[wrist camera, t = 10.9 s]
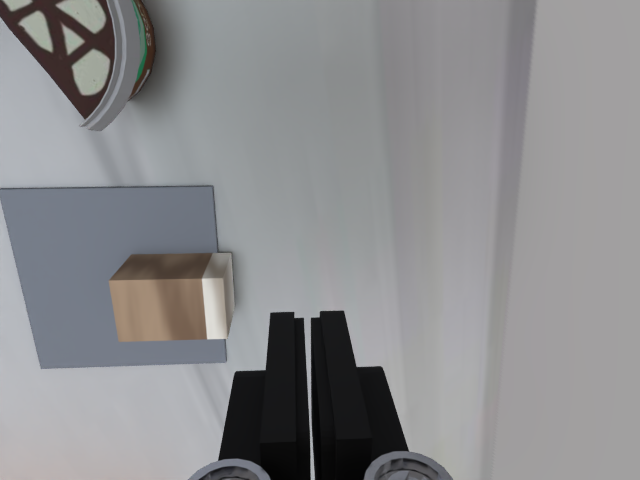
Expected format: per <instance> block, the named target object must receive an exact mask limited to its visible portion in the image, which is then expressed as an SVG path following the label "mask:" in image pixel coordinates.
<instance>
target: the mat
mask: <svg viewBox="0 0 640 480" xmlns="http://www.w3.org/2000/svg"><path fill="white" fill-rule="evenodd" d="M0 200H1V204H2V208H3V212H4V216H5V221H6V225H7V229H8V233H9V237H10V242H11V246H12V250H13V254H14V258H15V262H16V267H17V271H18V275H19V279H20V283H21V287H22V292H23V296H24V300H25V304H26V308H27V312H28V317H29V321H30V325H31V329H32V333H33V338H34V342H35V346H36V350H37V354H38V358H39V363H40V367H41V369H51V368H80V367H110V366H139V365H169V364H199V363H226V361H227V358H226V345H225V339H203V340H168V341H132V342H119V341H118V335H117V329H116V323H115V316H114V310H113V304H112V298H111V292H110V286H109V279H110V278H111V277H112V276H113V275H114V274H115V273H116V271H117V270H118V269H119V268H120V267H121V266H122V265H123V263H124V262H125V261H126V260H127V259H128V258H129V257H130V255H131V254H185V253H218V244H217V231H216V218H215V206H214V193H213V186H154V187H75V188H1V189H0Z"/></svg>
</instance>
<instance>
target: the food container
mask: <svg viewBox="0 0 640 480" xmlns="http://www.w3.org/2000/svg"><path fill="white" fill-rule="evenodd" d="M0 17H1V18H2V20H3V21H4V22H5V24H6V25H7V26H8V28H9V29H10V30H11V31H12V32H13V34H14V35H15V36H16V37H17V38H18V39H19V41H20V42H21V43H22V44H23V45H24V46H25V47H26V48H27V50H28V51H29V52H30V53H31V54H32V55H33V56H34V58H35V59H36V60H37V61H38V62H39V63H40V65H41V66H42V67H43V68H44V69H45V71H46V72H47V73H48V74H49V75H50V76H51V78H52V79H53V80H54V81H55V83H56V84H57V85H58V86H59V88H60V89H61V90H62V91H63V93H64V94H65V95H66V96H67V98H68V99H69V100H70V101H71V103H72V104H73V105H74V106H75V108H76V109H77V110H78V111H79V113H80V114H81V115H82V116H83V118H84V119H85V121H84V122H83V123H81V124H80V125H79V127H84V126H85V127H86V128H87V129H88V130H94V131H102V130H103V129H104V128H105V127H107V126H108V125H109V124H110V123H111V122H112V121H113V120H114V119H115V118H116V116H117V115H118V114H119V113H120V112H121V110H122V109H123V108H124V106H125V104H126V102H127V101H129V100H130V99H131V98H132V97H133V96H135V95H136V94H137V93H138V92H139V91H140V90H141V88H142V87H143V85H144V84H145V82H146V80H147V79H148V77H149V75H150V74H151V71H152V66H153V62H154V57H155V52H156V48H155V37H154V28H153V25H152V23H151V20H150V17H149V15H148V12H147V10H146V8H145V6H144V5H143V3H142V1H141V0H0Z"/></svg>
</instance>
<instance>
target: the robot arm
mask: <svg viewBox="0 0 640 480" xmlns="http://www.w3.org/2000/svg"><path fill="white" fill-rule="evenodd" d="M311 405H312V437H313V453H314V470H315V480H453V478H452V477H451V476H450V475H449V473H448V472H447V471H446V470H445V468H444V467H442V466H441V465H440V464H438V463H437V462H436V461H434V460H433V459H431V458H429V457H426V456H424V455H422V454H419V453H414V452H409V450H408V447H407V444H406V440H405V437H404V434H403V431H402V428H401V424H400V421H399V418H398V415H397V412H396V408H395V405H394V402H393V399H392V396H391V392H390V389H389V386H388V383H387V380H386V376H385V373H384V370H383V368H382V367H381V366H375V367H356V363H355V358H354V354H353V349H352V345H351V340H350V336H349V331H348V327H347V322H346V318H345V313H344V311H320V318H311ZM188 480H311V477H310V428H309V409H308V390H307V371H306V353H305V334H304V318H294V312H276V313H271V314H270V325H269V337H268V349H267V361H266V370H260V371H236V372H235V374H234V378H233V384H232V389H231V395H230V400H229V405H228V411H227V416H226V421H225V427H224V432H223V438H222V443H221V448H220V454H219V459H218V461H217V462H213V463H210V464H208V465H207V466H205V467H203V468H201V469H200V470H198V471H197V472H196V473H195V474H193V475H192V476H191V477H190V478H189V479H188Z"/></svg>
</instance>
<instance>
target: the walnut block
mask: <svg viewBox="0 0 640 480" xmlns="http://www.w3.org/2000/svg"><path fill="white" fill-rule="evenodd" d="M109 286H110V292H111V298H112V304H113V310H114V316H115V323H116V329H117V335H118V341H119V342H132V341H168V340H203V339H228V334H229V330H230V326H231V322H232V317H233V313H234V309H235V301H234V285H233V270H232V255H231V253H185V254H131V255H130V257H129V258H128V259H127V260H126V261H125V262H124V263H123V265H122V266H121V267H120V268H119V269H118V270H117V271H116V273H115V274H114V275H113V276H112V277H111V278H110V279H109Z"/></svg>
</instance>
